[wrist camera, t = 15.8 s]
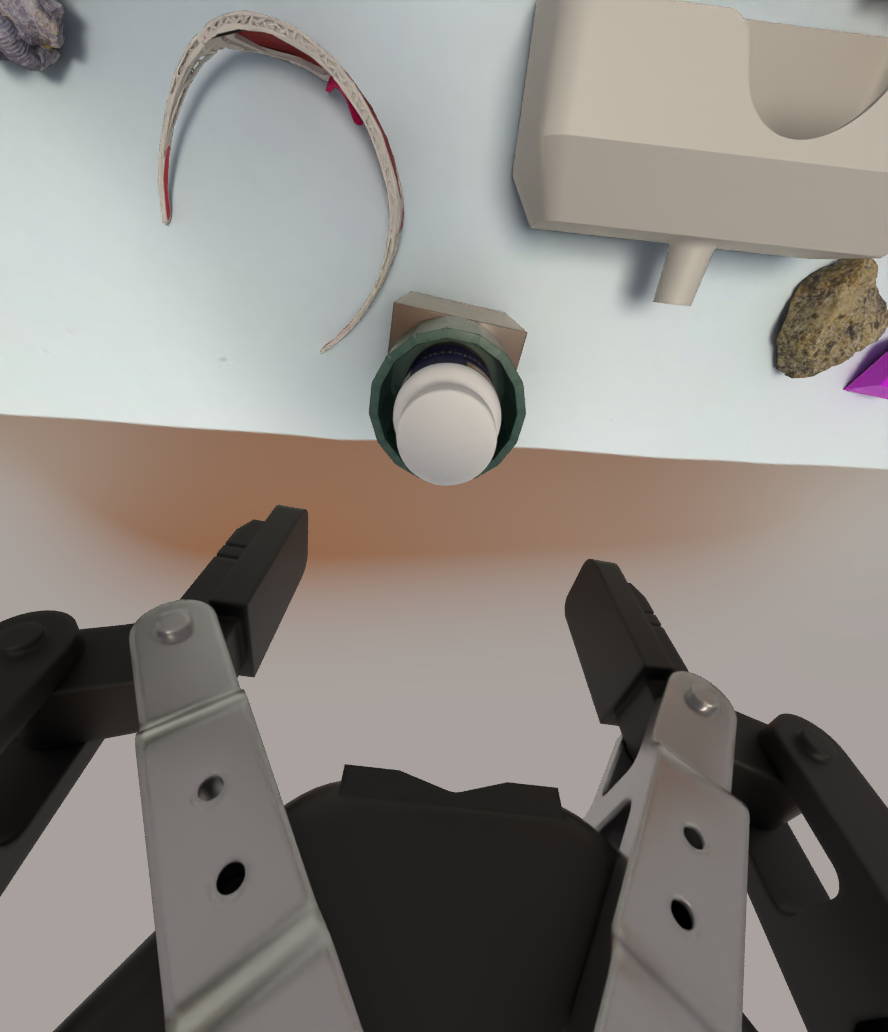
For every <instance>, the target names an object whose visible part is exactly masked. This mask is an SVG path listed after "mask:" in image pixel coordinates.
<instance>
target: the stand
mask: <svg viewBox="0 0 888 1032" xmlns="http://www.w3.org/2000/svg"><path fill="white" fill-rule="evenodd" d="M442 316H455V317H461V318H465V319H468V320H471V321H475V322H477V323H478V324H479V325H481V326H482V327H484V328H485V329H487V330H488V331H489V332H490V333H491V334H492V335H494V336H495V337H496V338H497V339H498V340H499V342H500V343H501V345H502V347H503V348H504V350H505V351H506V353H507V355H508V356H509V358H510V360H511V362H512V364H513V365H514V367H515V369H516V370H517V367H518V363H519V360H520V356H521V353H522V349H523V346H524V343H525V339H526V336H527V332H526V331H525V330H524V329H523V328H522V327H521V326H519V325H518V324H517V323H516V322H515V321H514V320H513V319H512V318H510V317H509V316H508V315H507V314H506V313H504V312H500V311H495V310H491V309H487V308H482V307H478V306H473V305H469V304H465V303H460V302H456V301H452V300H447V299H443V298H439V297H434V296H430V295H425V294H421V293H417V292H412V291H411V292H409V293H408V294H406V295H405V296H403V297H402V298H400V299H399V300H397V301H395V302H394V305H393V314H392V323H391V332H390V340H389V349H388V353H389V352H390V350H391V349H392V348H393V346H394V345H395V343H396V342H397V341H398V339H399V338H400V337H401V336H403V335H404V334H405V333H406V332H408V331H409V330H410V329H411V328H413V327H414V326H416V325H417V324H418V323H420V322H422V321H425V320H428V319H432V318H435V317H442Z"/></svg>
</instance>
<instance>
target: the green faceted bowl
mask: <svg viewBox="0 0 888 1032" xmlns="http://www.w3.org/2000/svg"><path fill="white" fill-rule="evenodd" d="M443 342H454V343H460V344H463V345H465V346H467V347H469V348H471V349H472V350H474V351H475V352H476V353H477V354H478V355H479V356H480V357H481V358H482V359H483V360H484V362H485V364H486V365H487V367H488V369H489V372H490V375H491V378H492V381H493V383H494V387H495V390H496V393H497V395H498V399H499V402H500V407H501V425H500V430H499V434H498V436H497V444H496V449H495V452H494V455H493V457H492V459H491V461H490V463H489V464H488V466H487V467H486V468H485V469H484V470H483V471H482V472H481V473H480V474H479V475H478V476H480V475H482V474H484V473H485V472H487V471H489V470H491V469H492V468H494V467H496V466H498V465H499V464H500V463H501V461H502V460H503V459H504V458H505V456H506V455H507V454H508V453H509V452H510V450H511V449H512V448H513V447H514V446H515V444H516V442H517V441H518V438H519V434H520V431H521V428H522V425H523V422H524V419H525V416H526V415H525V414H526V409H525V398H524V386H523V382H522V380H521V378H520V376H519V375H518V373H517V371H516V369H515V367H514V365H513V364H512V362H511V360H510V358H509V356H508V355H507V353H506V351H505V350H504V348H503V347H502V345H501V343H500V342H499V340H498V339H497V338H496V337H495V336H494V335H492V334H491V333H490V332H489V331H488V330H487V329H485V328H484V327H482V326H481V325H479V324H478V323H477V322H475V321H471V320H468V319H465V318H461V317H455V316H442V317H435V318H432V319H428V320H425V321H422V322H420V323H418V324H417V325H416V326H414V327H413V328H411V329H410V330H409V331H408V332H406V333H405V334H404V335H403V336H401V337H400V338H399V339H398V341H397V342H396V343H395V345H394V346H393V348H392V349H391V350H390V352H389V353H388V355H387V356H386V358H385V360H384V362H383V363H382V365H381V367H380V369H379V371H378V372H377V374H376V376H375V378H374V380H373V381H372V386H371V396H370V407H369V415H370V419H371V422H372V425H373V428H374V432H375V435H376V438H377V441H378V443H379V444H380V445H381V447H382V448H383V449H384V450H385V452H386V453H387V454H388V456H389V457H390V458H391V459H392V460H393V462H394V463H395V464H396V465H398V466H399V467H401V468H403V469H405V470H406V471H408V472H410V473H411V474H413V475H415V474H414V473H412V472H411V471H410V470H409V469H408V467H407V466H406V465H405V463H404V462H403V460H402V458H401V456H400V454H399V451H398V447H397V440H396V432H395V429H394V423H393V410H394V404H395V400H396V397H397V394H398V392H399V390H400V388H401V386H402V384H403V382H404V379H405V377H406V375H407V372H408V370H409V368H410V366H411V364H412V363H413V361H414V360H415V359H416V357H417V356H418V355H419V354H420V353H421V352H422V351H424V350H425V349H427V348H428V347H430V346H432V345H435V344H438V343H443ZM415 476H416V475H415ZM478 476H476V477H475V478H477V477H478ZM416 477H417V476H416ZM418 478H419V477H418ZM420 479H421V478H420ZM473 479H474V478H473Z"/></svg>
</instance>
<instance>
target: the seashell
mask: <svg viewBox="0 0 888 1032" xmlns="http://www.w3.org/2000/svg"><path fill="white" fill-rule="evenodd" d="M63 13H65V11H64V7H63V6H62V4H60V3H59V2H58V1H57V0H0V60H5V61H6V60H11V61H12V62H15V63H17V64H18V65H20V66H21V67H24V68H26V69H28V70H31V71H39V72H41V71H42V70H44V69H45V68H46V67H47V66H49V65H53V64H54V63H55V62H56V61H57V60H58V59H59V57H60V53H59V52H58V50H57V49H56V48H61V45H62V46H63V43H64V39H65V27H64V23H63V19H62V15H63Z"/></svg>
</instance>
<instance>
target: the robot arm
mask: <svg viewBox="0 0 888 1032" xmlns="http://www.w3.org/2000/svg"><path fill="white" fill-rule="evenodd" d="M307 555H308V512H307V510H306V509H300V508H294V507H288V506H282V505H277V506H276V507H275V508H274V510H273V511H272V513H271V514H270V515H269V516H268V518H267V519H266V521H259V520H252V521H250V522H249V523H247V524H245V525H243V526H242V527H240V528H238V529H236V531H235V532H234V533H233V534H232V536H231V537H230V538H229V540H228V541H227V542H226V545H224V546H223V547H222V548H221V549H220V550H219V552H218V553H217V556H216V557H214V558H213V559H212V560H211V562H210V563H209V564H208V565H207V567H206V568H205V569H204V570H203V572H202V573H201V574H200V575H199V576H198V578H197V579H196V580H195V582H194V583H193V584H192V585H191V586H190V588H189V589H188V590H187V591H186V593H185V594H184V595H183V596H182V598H181V599H180V600H176V601H172V602H168V603H165V604H162V605H159V606H157V607H155V608H153V609H151V610H149V611H148V612H146V613H145V614H144V615H142V616H141V617H140V618H139V619H138V620H137V621H136V622H135V623H133V624H127V625H118V626H109V627H99V628H89V629H80V630H79V628H78V625H77V623H76V621H75V619H74V618H73V617H72V616H70V615H68V614H66V613H63V612H59V611H36V612H30V613H26V614H21V615H18V616H15V617H12V618H9V619H7V620H4V621H2V622H0V896H1V894H2V893H3V892H4V890H5V889H6V887H7V886H8V884H9V883H10V881H11V880H12V878H13V876H14V875H15V873H16V872H17V870H18V869H19V867H20V866H21V864H22V863H23V861H24V860H25V858H26V857H27V855H28V854H29V852H30V851H31V849H32V848H33V846H34V844H35V843H36V842H37V840H38V839H39V837H40V836H41V834H42V832H43V831H44V830H45V828H46V826H47V825H48V824H49V822H50V821H51V819H52V817H53V816H54V814H55V813H56V811H57V810H58V808H59V807H60V805H61V804H62V802H63V801H64V799H65V798H66V796H67V795H68V793H69V792H70V790H71V789H72V787H73V786H74V784H75V783H76V781H77V780H78V778H79V777H80V775H81V774H82V772H83V770H84V769H85V768H86V766H87V765H88V763H89V762H90V760H91V758H92V757H93V755H94V754H95V752H96V751H97V749H98V748H99V746H100V745H101V743H102V742H103V740H104V739H105V738H110V737H115V736H121V735H126V734H131V733H136V732H138V733H137V734H136V737H135V747H136V758H137V767H138V776H139V785H140V794H141V802H142V803H141V804H142V812H143V822H144V831H145V840H146V849H147V858H148V867H149V876H150V885H151V895H152V904H153V913H154V922H155V931H154V932H153V933H152V934H151V935H150V936H149V937H148V938H147V939H146V940H145V941H144V942H143V943H142V944H141V945H140V946H139V947H138V948H137V949H136V950H135V951H134V952H133V953H132V954H131V955H130V956H129V957H128V958H127V959H126V960H125V961H124V962H123V963H122V964H121V965H120V966H119V967H118V968H117V969H116V970H115V971H114V972H113V973H112V974H111V975H110V976H109V977H108V978H107V979H106V980H105V981H104V982H103V983H102V984H101V985H100V986H99V987H98V988H97V989H96V990H95V991H94V992H93V993H92V994H91V995H90V996H89V997H88V998H86V999H85V1000H84V1001H83V1003H82V1004H81V1005H80V1006H78V1007H77V1008H76V1009H75V1010H74V1011H73V1012H72V1013H71V1014H70V1015H69V1016H68V1017H67V1018H66V1019H65V1020H64V1021H63V1022H62V1023H61V1024H60V1026H58V1027H57V1028H56V1029H55V1030H54V1031H53V1032H758V1031H757V1030H756V1029H755V1027H754V1026H753V1025H752V1024H751V1022H750V1021H749V1020H748V1018H747V1017H746V1016H745V1015H744V1013H743V1012H742V1005H743V980H744V953H745V928H746V901H747V893H748V895H749V897H750V900H751V902H752V904H753V906H754V909H755V911H756V913H757V916H758V918H759V920H760V923H761V925H762V927H763V930H764V932H765V934H766V936H767V939H768V941H769V943H770V945H771V948H772V950H773V953H774V955H775V957H776V959H777V962H778V964H779V966H780V969H781V971H782V973H783V975H784V978H785V980H786V982H787V985H788V987H789V989H790V991H791V994H792V996H793V998H794V1001H795V1003H796V1005H797V1008H798V1010H799V1012H800V1015H801V1017H802V1019H803V1022H804V1024H805V1026H806V1028H807V1031H808V1032H888V808H887V807H886V805H885V804H884V803H883V802H882V800H881V799H880V797H879V796H878V795H877V793H876V792H875V791H874V790H873V788H872V787H871V786H870V784H869V783H868V782H867V780H866V779H865V778H864V776H863V775H862V774H861V773H860V771H859V770H858V769H857V767H856V766H855V765H854V763H853V762H852V761H851V759H850V758H849V757H848V756H847V754H846V753H845V752H844V750H842V748H841V747H840V746H839V745H838V744H837V743H836V742H835V741H834V740H833V739H832V738H831V737H830V736H829V735H828V734H827V733H825V732H824V731H823V730H822V729H820V728H818V727H817V726H816V725H814V724H813V723H811V722H809V721H807V720H805V719H803V718H801V717H798V716H796V715H792V714H781V715H779V716H778V717H776V718H775V719H774V720H773V721H772V722H771V723H769V724H765V723H763V722H760V721H758V720H755V719H753V718H751V717H748V716H746V715H744V714H741V713H739V712H736V711H735V710H734V708H733V706H732V705H731V703H730V701H729V700H728V699H727V698H726V696H725V695H724V694H723V693H722V692H721V691H720V690H719V689H718V688H717V687H716V686H714V685H713V684H712V683H710V682H709V681H707V680H706V679H704V678H702V677H701V676H698V675H696V674H693V673H690V672H689V671H688V670H687V668H686V666H685V664H684V663H683V661H682V659H681V658H680V656H679V654H678V652H677V651H676V649H675V647H674V646H673V644H672V642H671V641H670V639H669V637H668V635H667V634H666V632H665V630H664V629H663V628H662V627H661V624H660V622H659V620H658V618H657V617H656V615H654V614H653V613H654V612H653V610H652V608H651V607H650V605H649V603H648V601H647V600H646V598H645V597H644V596H643V595H642V594H641V593H640V592H639V591H638V590H637V589H636V588H635V587H634V586H633V585H632V584H631V583H627V581H626V579H625V577H624V575H623V574H622V572H621V570H620V568H619V567H618V565H617V564H615V563H611V562H605V561H599V560H593V559H588V560H587V561H586V562H585V563H584V564H583V566H582V568H581V570H580V572H579V574H578V576H577V578H576V580H575V582H574V584H573V586H572V588H571V590H570V592H569V594H568V596H567V598H566V602H565V617H566V620H567V623H568V626H569V629H570V632H571V635H572V638H573V641H574V644H575V647H576V651H577V654H578V657H579V660H580V663H581V665H582V669H583V672H584V675H585V678H586V681H587V684H588V687H589V690H590V693H591V696H592V700H593V703H594V705H595V709H596V712H597V715H598V718H599V721H600V723H601V724H608V725H616V726H619V727H620V730H621V733H622V734H621V736H620V737H619V738H618V739H617V741H616V743H615V746H614V748H613V751H612V754H611V756H610V759H609V762H608V765H607V767H606V770H605V772H604V775H603V777H602V780H601V783H600V785H599V788H598V791H597V793H596V796H595V799H594V801H593V803H592V805H591V807H590V809H589V811H588V812H587V814H586V816H585V817H584V819H581V818H580V817H579V816H577V815H575V814H574V813H572V812H570V811H568V810H567V809H565V808H563V807H562V806H561V802H560V797H559V792H558V788H553V787H544V786H535V785H526V784H517V783H508V782H507V783H502V784H497V785H493V786H488V787H483V788H479V789H473V790H468V791H464V792H457V793H455V792H450V791H447V790H445V789H442V788H440V787H438V786H435V785H433V784H431V783H428V782H426V781H423V780H421V779H419V778H416V777H414V776H411V775H409V774H407V773H404V772H402V771H399V770H391V769H382V768H373V767H364V766H355V765H345V766H344V771H343V775H342V780H341V781H339V782H334V783H329V784H326V785H323V786H320V787H317V788H314V789H312V790H310V791H308V792H306V793H304V794H302V795H300V796H299V797H297V798H295V799H294V800H292V801H290V802H289V803H287V804H286V805H283V802H282V799H281V796H280V793H279V790H278V787H277V784H276V781H275V778H274V775H273V772H272V769H271V766H270V763H269V760H268V757H267V754H266V751H265V748H264V745H263V742H262V739H261V736H260V733H259V730H258V728H257V725H256V721H255V718H254V715H253V713H252V709H251V706H250V703H249V701H248V698H247V695H246V693H245V691H244V690H243V689H242V690H241V688H240V686H239V682H238V679H237V678H238V676H239V675H241V676H248V677H255V675H256V673H257V671H258V668H259V666H260V664H261V662H262V660H263V658H264V656H265V653H266V652H267V650H268V647H269V645H270V643H271V641H272V639H273V637H274V635H275V633H276V631H277V629H278V626H279V624H280V622H281V620H282V618H283V616H284V614H285V612H286V609H287V607H288V605H289V603H290V601H291V599H292V597H293V595H294V593H295V591H296V588H297V586H298V584H299V582H300V580H301V578H302V576H303V573H304V570H305V567H306V562H307ZM801 813H802V814H803V815H804V817H805V819H806V821H807V822H808V824H809V826H810V827H811V829H812V831H813V832H814V834H815V836H816V837H817V839H818V841H819V842H820V844H821V846H822V847H823V849H824V851H825V853H826V854H827V856H828V858H829V859H830V861H831V862H832V864H833V866H834V868H835V870H836V873H837V876H838V879H839V893H838V895H837V896H836V897H835V898H834V899H832V900H830V898H829V896H828V894H827V892H826V891H825V889H824V887H823V885H822V884H821V882H820V880H819V878H818V877H817V875H816V873H815V871H814V869H813V868H812V866H811V864H810V862H809V860H808V859H807V857H806V855H805V853H804V852H803V850H802V848H801V846H800V845H799V843H798V841H797V839H796V837H795V835H794V834H793V832H792V830H791V829H790V827H789V825H788V823H787V822H788V821H789V820H791V819H793V818H795V817H796V816H798V815H799V814H801Z"/></svg>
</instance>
